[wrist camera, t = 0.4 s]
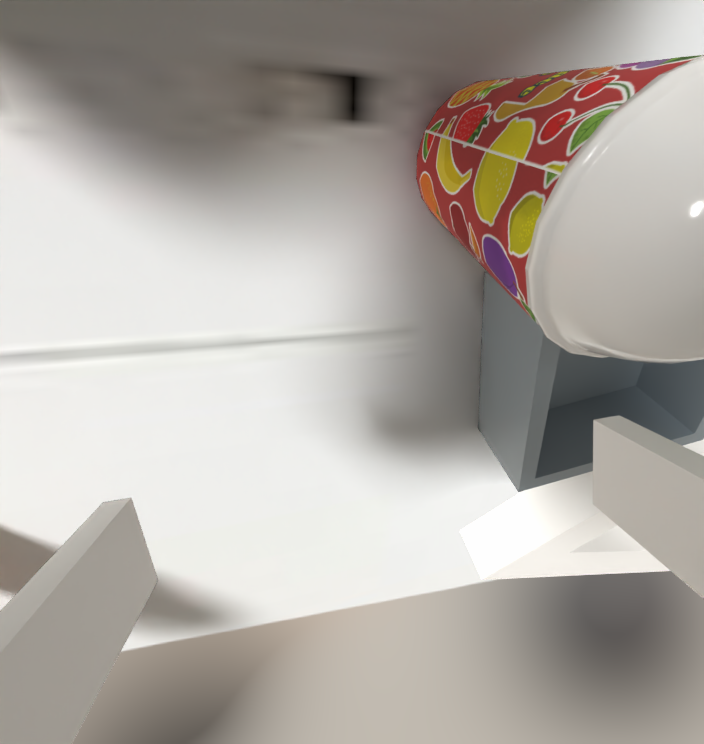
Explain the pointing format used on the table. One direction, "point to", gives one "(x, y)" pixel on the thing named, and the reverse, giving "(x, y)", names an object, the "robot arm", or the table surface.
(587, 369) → the tray
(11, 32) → the table surface
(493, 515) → the triangle block
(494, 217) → the smoothie
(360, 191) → the table surface
